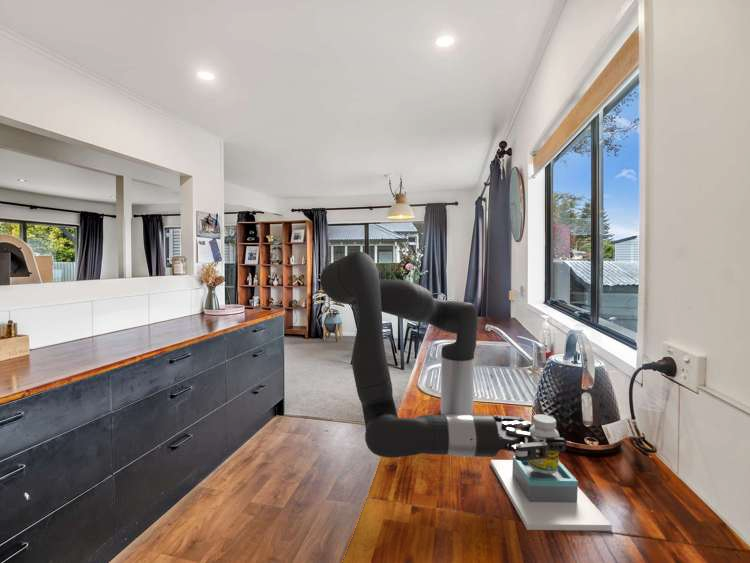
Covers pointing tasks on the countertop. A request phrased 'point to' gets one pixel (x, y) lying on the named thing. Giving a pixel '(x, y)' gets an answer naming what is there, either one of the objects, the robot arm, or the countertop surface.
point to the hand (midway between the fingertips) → (557, 436)
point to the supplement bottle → (544, 428)
